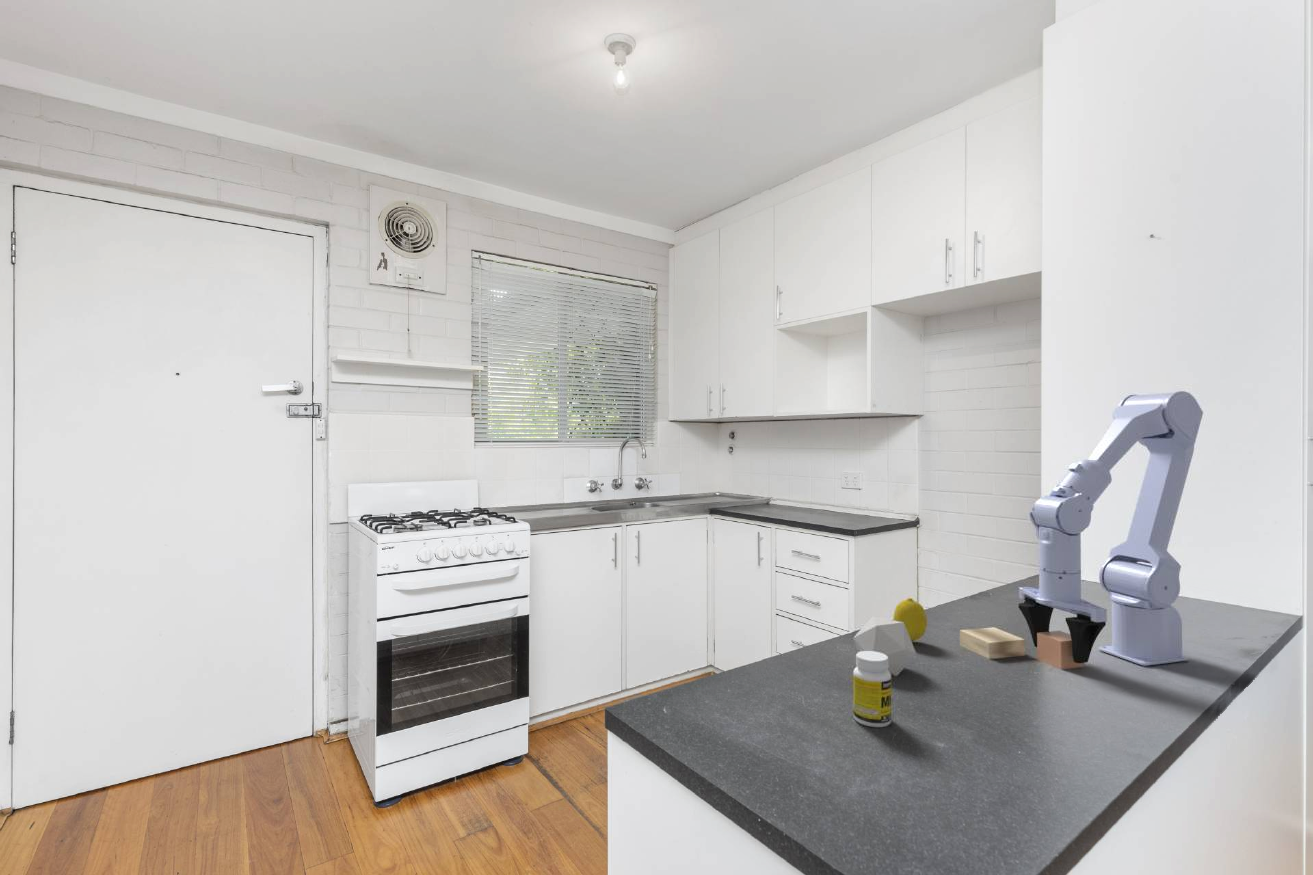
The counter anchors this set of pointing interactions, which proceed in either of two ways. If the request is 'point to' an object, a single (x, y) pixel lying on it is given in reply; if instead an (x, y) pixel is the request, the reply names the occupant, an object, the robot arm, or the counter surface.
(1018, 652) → the oak block
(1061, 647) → the terracotta cube
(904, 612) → the lemon
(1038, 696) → the counter surface
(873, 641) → the die
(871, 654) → the supplement bottle
